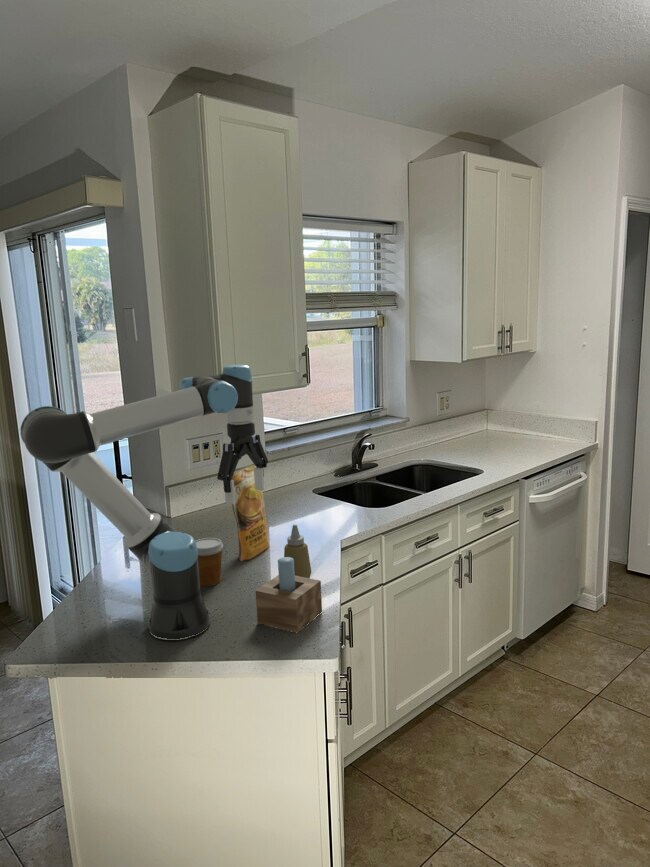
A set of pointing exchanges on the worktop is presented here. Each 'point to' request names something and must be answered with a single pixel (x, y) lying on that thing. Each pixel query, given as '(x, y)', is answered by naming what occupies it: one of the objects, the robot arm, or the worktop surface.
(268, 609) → the socket block
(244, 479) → the pancake mix bag
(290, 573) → the dowel
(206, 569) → the disposable coffee cup
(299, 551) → the squeeze bottle
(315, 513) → the worktop surface
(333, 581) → the worktop surface
